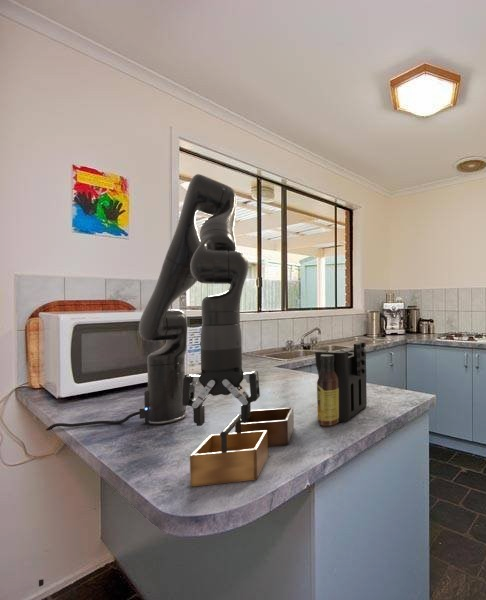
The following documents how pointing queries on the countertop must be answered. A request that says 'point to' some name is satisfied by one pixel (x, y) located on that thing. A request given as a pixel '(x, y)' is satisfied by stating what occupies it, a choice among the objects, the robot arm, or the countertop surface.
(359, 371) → the black machined bracket
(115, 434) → the countertop surface
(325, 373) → the sauce bottle
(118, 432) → the countertop surface
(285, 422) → the bottom basket
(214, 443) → the box
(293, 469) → the countertop surface
